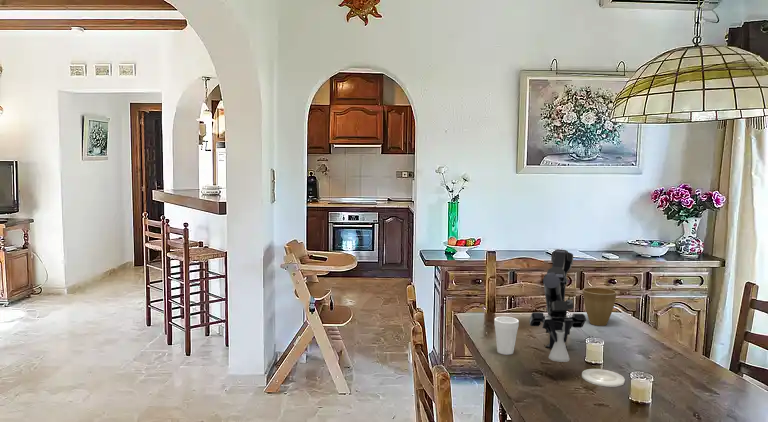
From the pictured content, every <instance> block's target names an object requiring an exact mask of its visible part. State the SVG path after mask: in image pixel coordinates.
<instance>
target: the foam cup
mask: <svg viewBox="0 0 768 422" xmlns="http://www.w3.org/2000/svg"><path fill="white" fill-rule="evenodd" d="M493 322H494V323H493V324H494V332H495V340H496V341H495V343H496V352H497V353H498V354H501V355H505V356H506V355H507V356H508V355H513V354H514V351H515V347H516V340H517V335H518V328H519V325H520V324H519V323H520V321H519V319H518V318H515V317H511V316H497V317H494V321H493Z"/></svg>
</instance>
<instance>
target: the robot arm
mask: <svg viewBox="0 0 768 422" xmlns="http://www.w3.org/2000/svg"><path fill="white" fill-rule="evenodd" d="M550 257H551V259H550V260H551V261H550V262H551V263H552V265H551V267H549V269H547V272H546V274H544V277H543V279H542V284H543V289H544V297H545V303H546V312H547V315H544V312H535V311H534V312H532V313H531V314H530V317H529V326H530V327H539V326H540V325H541V323H542V329H545V333H546V334H547V333H548V334H549V343H548V344H547V345H545V348H548V349H551V350H552V348H553V345H554V343H555V342H557V336H556V332H555V331H556V330H562V331H564V332H565V333H564V342H565V343H567V339H568V336H569V335H570V334H571V329H572V328H578V329H579V328H580V329H581V328H583V327H584V325H585V324H586V321H587V319H586V315H585V314H584V313H572V315H571V316H567V314H568V311H569V310H572V309H574V302H573V299H567V300H565V299H566V297H565V296H566V288H567V287H566V286H567V284H568V278H567V275H568V273H569V272H570V270H572V265H574V254H573V253H572V252H570V251H568V250H566V249H554V251H551V256H550ZM565 346H566V349H567V348H568V345H565Z"/></svg>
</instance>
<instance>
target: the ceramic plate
mask: <svg viewBox="0 0 768 422" xmlns="http://www.w3.org/2000/svg"><path fill="white" fill-rule="evenodd" d="M581 378H582V379H583V380H584V381H586V382H587V383H589V384H591V385H595V386H599V387H605V388H606V387H607V388H615V387H617V388H618V387H621V386H623V385H625V381H626V379H625V377H624V376H623V375H621V374H619V373H618V372H616V371H612V370H609V369H608V370H607V369H603V368H588V369H585V370H583V371H582V372H581Z"/></svg>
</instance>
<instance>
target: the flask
mask: <svg viewBox="0 0 768 422" xmlns="http://www.w3.org/2000/svg"><path fill="white" fill-rule="evenodd" d="M555 332H556V336H557V342H555V343H554V345H553V348H552V349H551V350H550V352H549V354H548V359H549V360H550V361H553V362H558V363H559V362H560V363H564V362H567V363H568V362H569V361H570V360H571V359H570V355H569V353H568V350H567V348H566V346H567V345H566V342H564V333H565V332H564V331H562V330H556V331H555Z"/></svg>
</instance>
